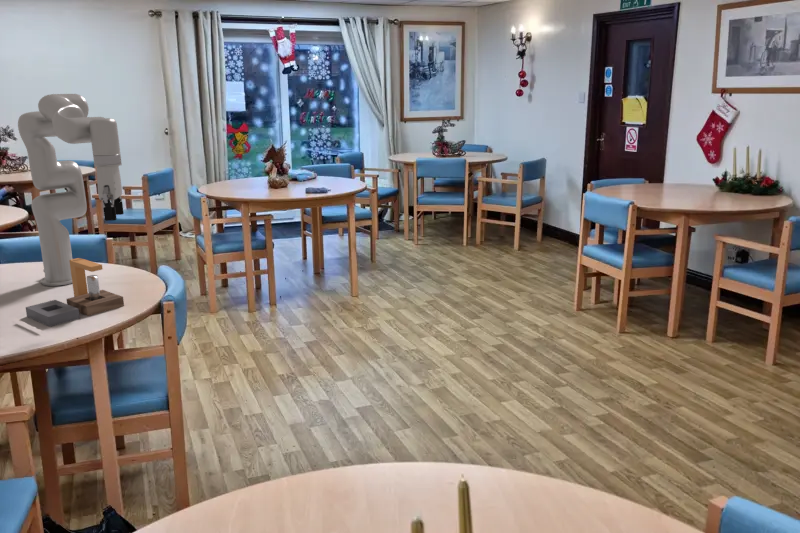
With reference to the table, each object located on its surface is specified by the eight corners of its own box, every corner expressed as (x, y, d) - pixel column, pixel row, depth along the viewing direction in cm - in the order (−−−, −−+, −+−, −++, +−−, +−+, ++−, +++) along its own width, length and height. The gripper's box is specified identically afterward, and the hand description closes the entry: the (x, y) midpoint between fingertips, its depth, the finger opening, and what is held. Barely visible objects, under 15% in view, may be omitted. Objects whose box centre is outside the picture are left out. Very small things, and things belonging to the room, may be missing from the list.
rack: (27, 319, 206) (25, 307, 205) (56, 311, 213) (55, 299, 212) (50, 329, 198) (48, 316, 197) (80, 321, 205) (78, 308, 204)
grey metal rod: (88, 307, 214) (84, 276, 211) (98, 304, 217) (94, 274, 214) (93, 309, 212) (89, 278, 210) (103, 306, 215) (99, 276, 212)
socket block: (68, 311, 214) (66, 298, 212) (103, 301, 223) (102, 289, 222) (88, 319, 207) (86, 306, 205) (124, 308, 216) (123, 296, 215)
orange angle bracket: (74, 304, 219) (68, 260, 215) (84, 301, 222) (79, 257, 218) (96, 312, 211) (91, 267, 207) (107, 309, 214) (102, 264, 210)
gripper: (101, 158, 210) (108, 212, 215) (86, 164, 194) (94, 223, 198) (126, 157, 211) (133, 211, 216) (114, 163, 195) (121, 222, 199)
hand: (114, 217), depth 207 cm, fingers open, 9 cm apart
